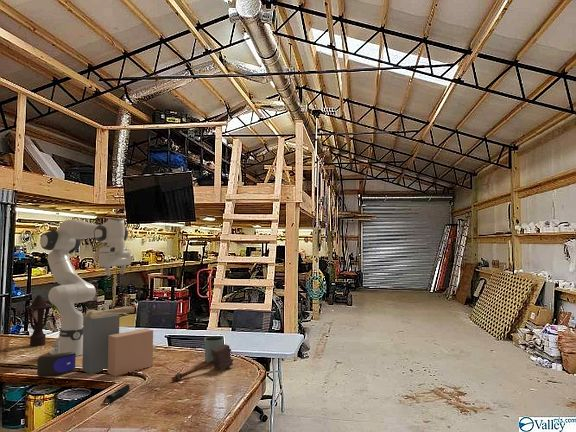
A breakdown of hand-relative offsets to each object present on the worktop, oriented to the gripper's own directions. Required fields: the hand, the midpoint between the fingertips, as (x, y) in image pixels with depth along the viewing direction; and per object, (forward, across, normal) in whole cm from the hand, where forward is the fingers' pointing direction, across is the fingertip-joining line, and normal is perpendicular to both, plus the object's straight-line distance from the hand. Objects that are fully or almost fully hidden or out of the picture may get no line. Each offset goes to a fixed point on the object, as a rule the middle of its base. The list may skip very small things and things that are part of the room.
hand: (115, 274), depth 229 cm
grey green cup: (+46, -20, +48) cm, 69 cm away
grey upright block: (+46, +12, +2) cm, 47 cm away
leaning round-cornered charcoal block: (+46, +25, -12) cm, 54 cm away
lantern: (+45, -12, -70) cm, 85 cm away
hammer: (+46, 0, +53) cm, 71 cm away
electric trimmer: (+46, +39, +37) cm, 71 cm away
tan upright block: (+46, +7, +17) cm, 49 cm away
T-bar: (+20, +6, +4) cm, 21 cm away
